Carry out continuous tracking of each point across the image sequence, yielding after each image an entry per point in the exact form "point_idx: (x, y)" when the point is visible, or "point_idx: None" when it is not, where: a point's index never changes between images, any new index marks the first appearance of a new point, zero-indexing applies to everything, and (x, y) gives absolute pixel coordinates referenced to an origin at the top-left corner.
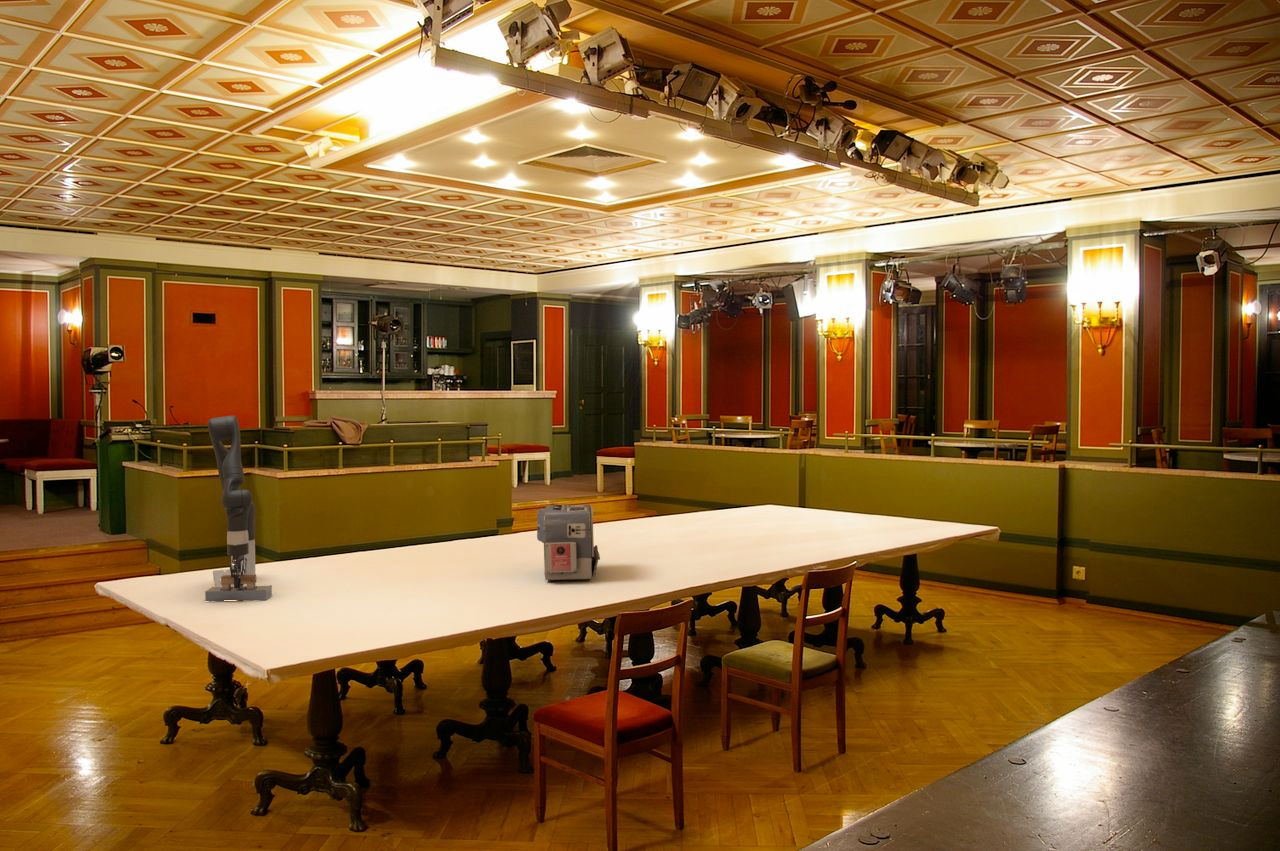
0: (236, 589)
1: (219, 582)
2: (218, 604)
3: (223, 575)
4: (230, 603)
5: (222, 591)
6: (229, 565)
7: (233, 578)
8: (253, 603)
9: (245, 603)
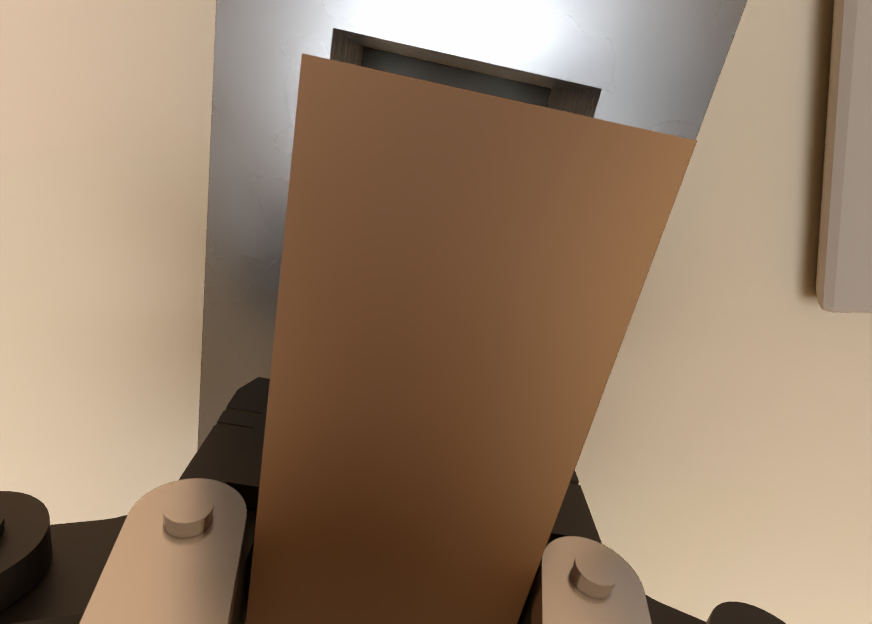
0: None
1: None
2: (69, 66)
3: (637, 138)
4: (123, 241)
5: (217, 119)
6: None
7: (179, 487)
8: (91, 495)
9: (101, 418)
